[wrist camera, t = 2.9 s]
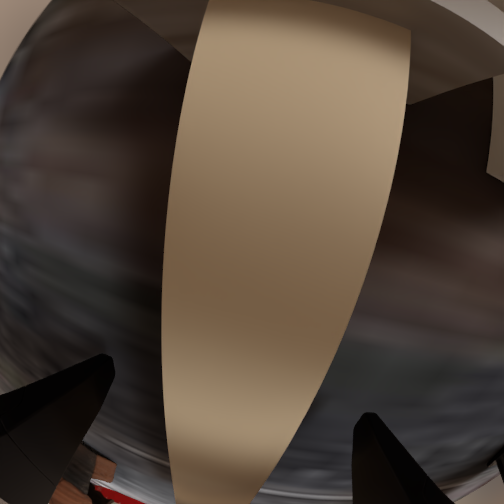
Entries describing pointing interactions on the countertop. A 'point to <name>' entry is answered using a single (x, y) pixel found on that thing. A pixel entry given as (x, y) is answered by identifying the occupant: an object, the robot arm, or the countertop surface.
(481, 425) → the countertop surface
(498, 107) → the white angular piece
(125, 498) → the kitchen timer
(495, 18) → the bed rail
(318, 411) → the countertop surface
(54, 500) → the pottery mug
